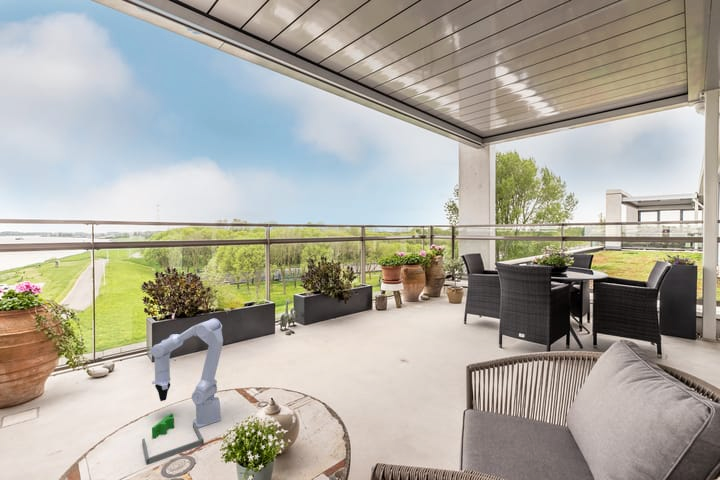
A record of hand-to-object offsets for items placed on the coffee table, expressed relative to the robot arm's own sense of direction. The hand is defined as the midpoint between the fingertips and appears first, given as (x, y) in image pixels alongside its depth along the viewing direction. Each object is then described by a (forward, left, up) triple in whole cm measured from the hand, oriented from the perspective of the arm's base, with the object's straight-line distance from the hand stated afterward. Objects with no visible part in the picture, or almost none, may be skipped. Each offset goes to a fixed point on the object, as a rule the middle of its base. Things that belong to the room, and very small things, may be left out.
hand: (163, 400), depth 151 cm
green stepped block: (+1, +12, -8) cm, 15 cm away
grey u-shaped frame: (0, +24, -8) cm, 25 cm away
